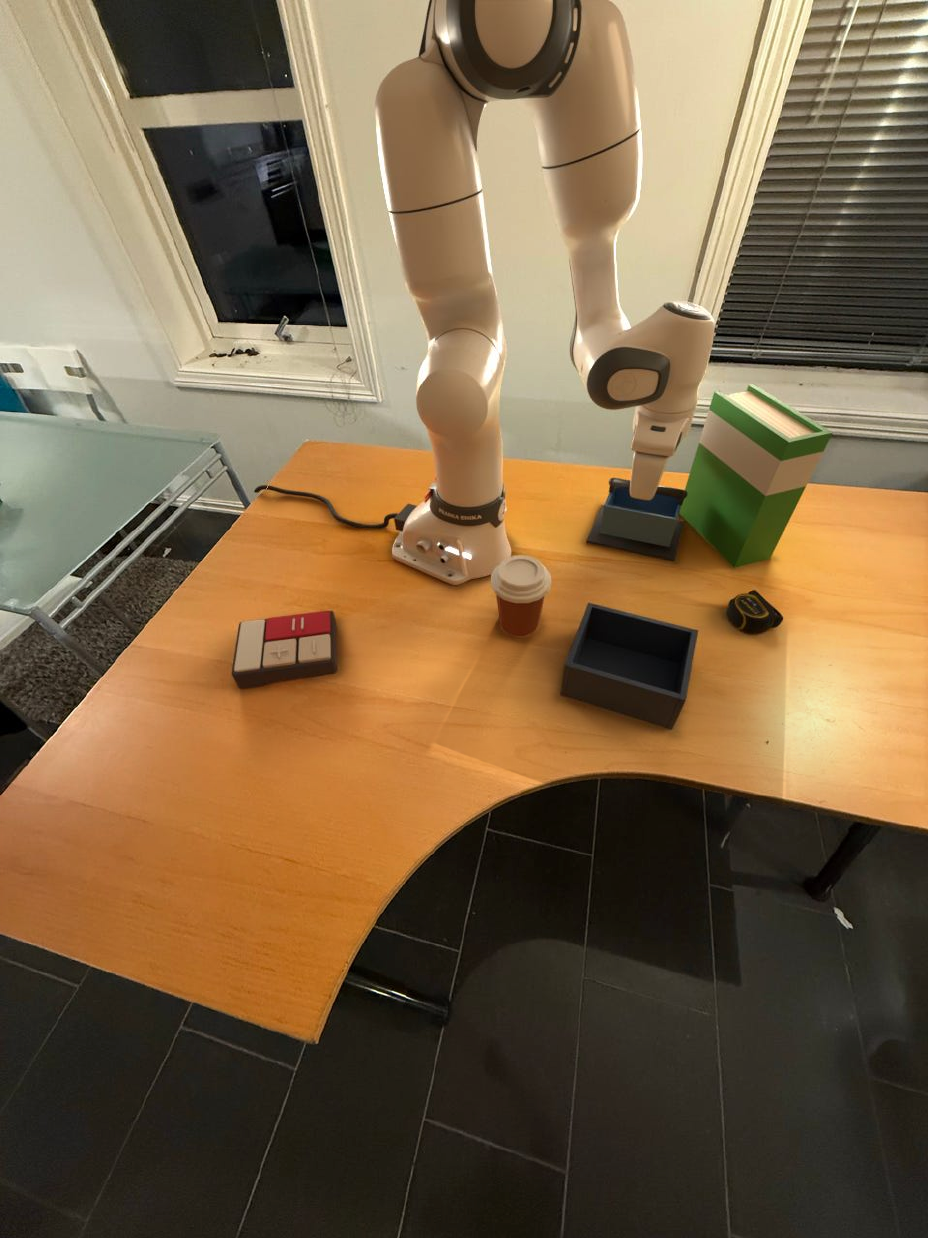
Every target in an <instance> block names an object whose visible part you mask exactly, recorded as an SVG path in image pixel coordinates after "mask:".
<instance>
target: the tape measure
mask: <svg viewBox="0 0 928 1238" xmlns="http://www.w3.org/2000/svg"><path fill="white" fill-rule="evenodd" d="M725 614H726V617H727V620H728V622H729V623H730V624H731V625H732V626H733V627H734V628H736V629H738V630H739V631H741V632H743V633H746V634H751V635H753V634H754V635H758V634H763V633H765V632H767V631H768V630H770V629H775V628H778V627H779V626H780V625H782V623H783V622H784V621H783V620H784V616H783V614H782V613H781V612H780V611H779V610H778V609H776V607H774V606H773V605H772V604H771V603H770V602H769V601H768V600H766V598H764V597H763V595H761V593H760V592H759V591H757V590H756V589H752V590H749V591H748V592H743V593H739V594H737V595H736V596H734V597H732V598H730V599H729V601H728V607H727V609H726V613H725Z"/></svg>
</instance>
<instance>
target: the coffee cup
mask: <svg viewBox="0 0 928 1238" xmlns="http://www.w3.org/2000/svg"><path fill="white" fill-rule="evenodd" d="M551 576H552V575H551V573H550V572H549V570H548V568H546V566H545V565H544V564H543V563H542V562H541V561H540V559H537V558H535V557H534V556H529V555H526V554H515V555H511V557H508V558H506V559H505V560H503V561H502V562H501V563H500V565H499V566H497V567H496V568H495V569H494V571H493V573H492V574H491V575H490V587H491V589H492V590H493V592H494V594H495V597H496V603H497V604H496V605H497V614H498V623H499V627H500V628H501V630H502V631H503V632H504V633H506V634H507V635H509V636H511V637H514V638H524V637H528V636H531V635H532V634H534V633H535V632H537V629H538V628H539V625H540V622H541V618H542V617H541V616H542V612H543V611H542V610H543V606H544V601H545V598H546V597H545V596H546V595H547V594H548V593H549V591H550V589H551V588H552V587H551V586H552V577H551Z"/></svg>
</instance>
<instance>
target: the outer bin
mask: <svg viewBox="0 0 928 1238" xmlns="http://www.w3.org/2000/svg"><path fill="white" fill-rule="evenodd" d="M698 634H699V630H698V629H694V628H691V627H687V626H683V625H679V624H675V623H671V622H667V621H663V620H660V619H656V618H651V617H649V616H644V615H640V614H637V613H636V614H635V613H633V612H632V613H631V612H628V611H624V610H621V609H616V608H612V607H608V606H604V605H600V604H596V603H592V602H587V605H586V607H585V610H584V612H583V614H582V617H581V620H580V623H579V625H578V628H577V631H576V634H575V635H574V639H573V642H572V644H571V646H570V650H569V652H568V655H567V658H566V659H565V664H564V667H563V673H562V675H563V676H562V680H561V687H560V693H559V694H560V696H562V697H566V698H569V699H573V700H575V701H579V702H582V703H585V704H588V705H591V706H594V707H598V708H601V709H604V710H608V711H610V712H614V713H616V714H620V715H623V716H626V717H629V718H633V719H636V720H640V721H642V722H646V723H648V724H653V725H655V726H658V727H662V728H665V729H668V730H671V731H672V730H673V729H674V727H675V725H676V722H677V720H678V718H679V716H680V714H681V712H682V711H683V707H684V705H685V704H686V701H687V697H688V696H687V695H688V690H689V685H690V681H691V674H692V668H693V662H694V657H695V653H696V651H695V650H696V646H697V645H696V644H697V640H698Z"/></svg>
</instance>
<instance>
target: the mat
mask: <svg viewBox="0 0 928 1238" xmlns="http://www.w3.org/2000/svg"><path fill="white" fill-rule="evenodd" d="M603 508H604V505H603V504H601V506H600V507H599V511H598V513H597V515H596V517H595V520H594V522H593V525H592V527H591V529H590V532H589V534H588V536H587V539H586V544H591V545H594V546H599V547H602V548H603V547H604V548H609V549H614V550H618V551H621V552H626V553H632V554H636V555H641V556H644V557H650V558H654V559H658V560H663V561H668V562H671V563H674V562H675V561H676V558H677V554H678V550H679V549H678V548H679V546H680V545H679V544H680V541H681V537H682V533H683V530H684V529H683V528H684V524H685V520H681V519H678V520H677V523H676V527H675V530H674V533H673V537H672V540H671V543H670V547H666V546H661V545H656V544H652V543H647V542H642V541H637V540H632V539H627V538H623V537H618V536H613V535H608V534H603V533H599V531H600V526H601V520H602V514H603Z"/></svg>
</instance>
